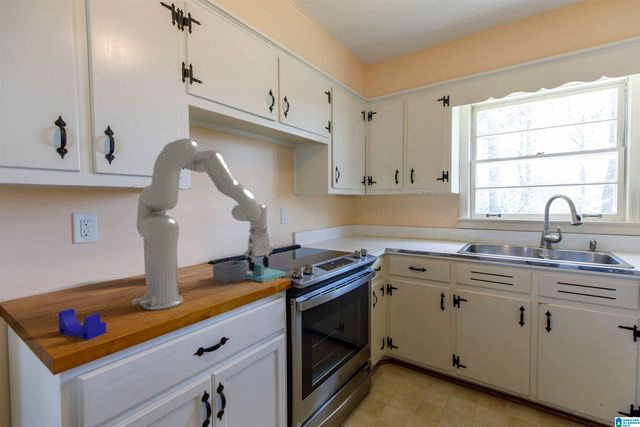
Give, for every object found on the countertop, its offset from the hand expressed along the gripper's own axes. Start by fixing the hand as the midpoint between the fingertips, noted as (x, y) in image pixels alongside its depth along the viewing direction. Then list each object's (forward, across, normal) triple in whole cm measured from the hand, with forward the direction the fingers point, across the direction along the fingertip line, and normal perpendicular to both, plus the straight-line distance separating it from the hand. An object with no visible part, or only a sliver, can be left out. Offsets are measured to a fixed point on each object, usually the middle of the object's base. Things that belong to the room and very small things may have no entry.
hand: (258, 268), depth 135 cm
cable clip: (+5, -66, -2) cm, 67 cm away
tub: (+5, -7, +12) cm, 15 cm away
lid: (+5, +4, 0) cm, 7 cm away
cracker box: (+5, -30, +37) cm, 48 cm away
